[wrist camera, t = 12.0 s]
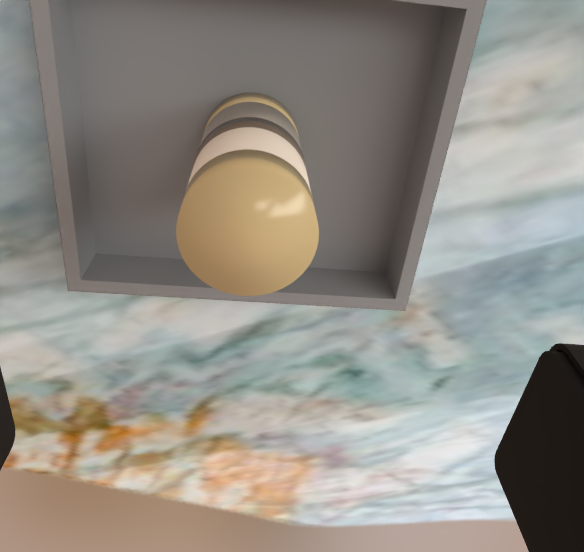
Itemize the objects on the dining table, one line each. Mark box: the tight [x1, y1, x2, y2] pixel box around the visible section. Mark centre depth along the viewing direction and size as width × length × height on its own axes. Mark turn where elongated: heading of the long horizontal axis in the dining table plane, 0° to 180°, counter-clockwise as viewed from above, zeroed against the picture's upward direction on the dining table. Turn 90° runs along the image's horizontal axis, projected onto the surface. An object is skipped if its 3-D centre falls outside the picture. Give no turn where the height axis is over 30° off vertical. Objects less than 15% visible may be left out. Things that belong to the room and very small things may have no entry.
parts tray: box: [29, 0, 487, 311], centre depth 22 cm, size 15×13×3 cm
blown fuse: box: [176, 92, 319, 296], centre depth 19 cm, size 4×4×9 cm
